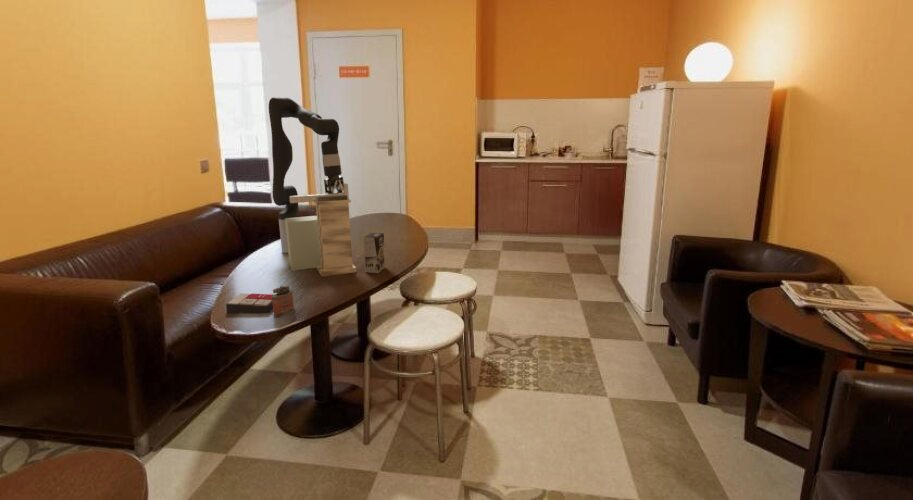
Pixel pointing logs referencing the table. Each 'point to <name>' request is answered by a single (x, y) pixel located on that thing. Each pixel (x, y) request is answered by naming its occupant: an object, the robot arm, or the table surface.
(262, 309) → the red and beige box
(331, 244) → the tall stand
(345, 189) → the hook bar
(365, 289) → the table surface
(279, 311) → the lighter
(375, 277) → the table surface
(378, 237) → the coffee box
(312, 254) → the upright cream box
